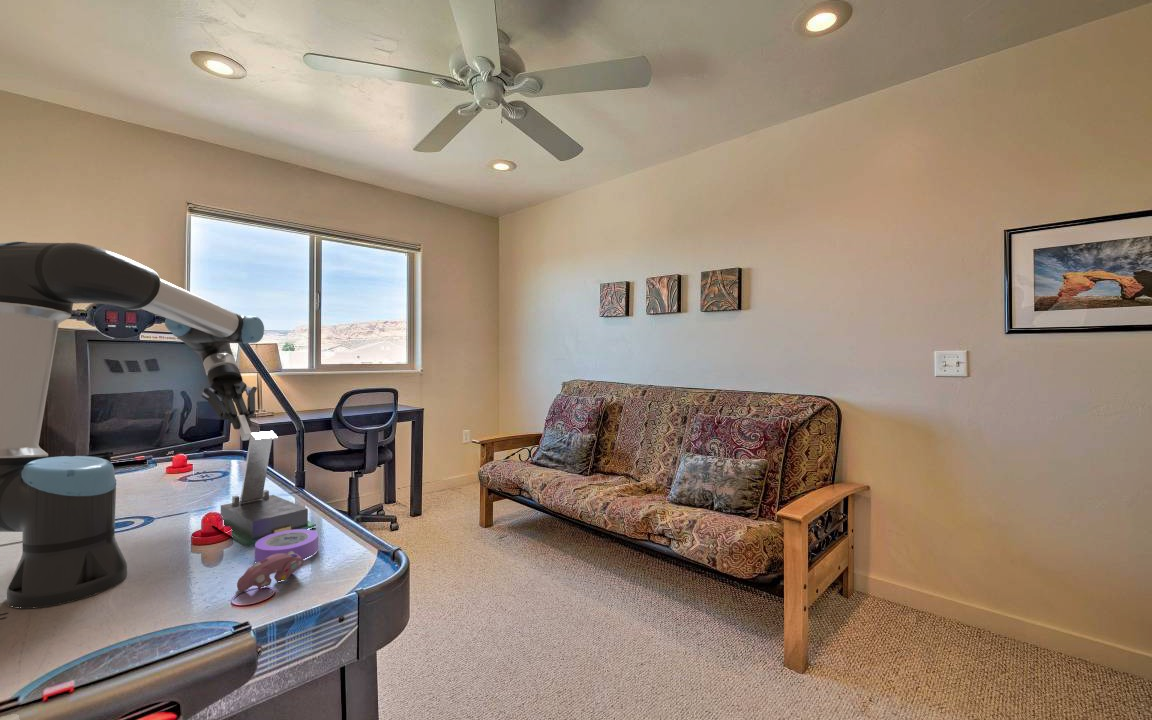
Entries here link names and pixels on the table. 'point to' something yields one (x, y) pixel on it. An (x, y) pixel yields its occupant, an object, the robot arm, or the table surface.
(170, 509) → the table surface
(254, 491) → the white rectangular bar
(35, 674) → the table surface
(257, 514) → the grey box device
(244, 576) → the video game controller
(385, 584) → the table surface
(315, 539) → the masking tape
